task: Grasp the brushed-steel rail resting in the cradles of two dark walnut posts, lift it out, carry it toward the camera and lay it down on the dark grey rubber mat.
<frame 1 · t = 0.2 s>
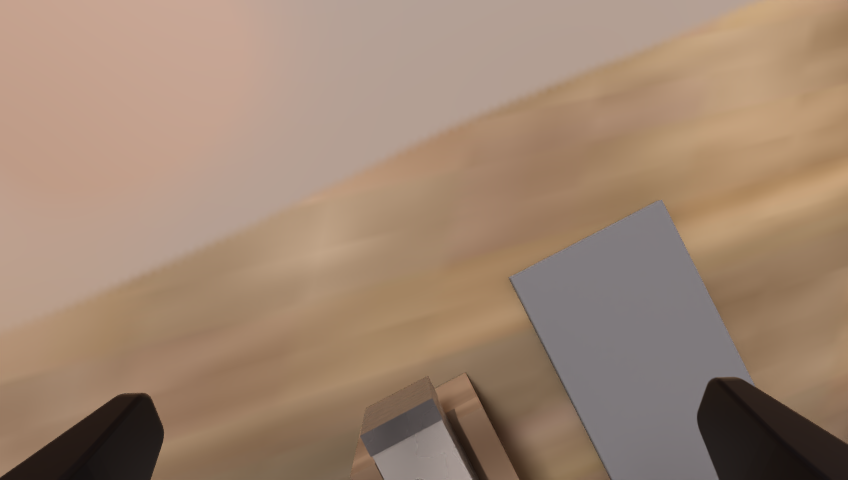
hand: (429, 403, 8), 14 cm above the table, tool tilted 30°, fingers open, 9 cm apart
mat: (678, 427, 23), on the table
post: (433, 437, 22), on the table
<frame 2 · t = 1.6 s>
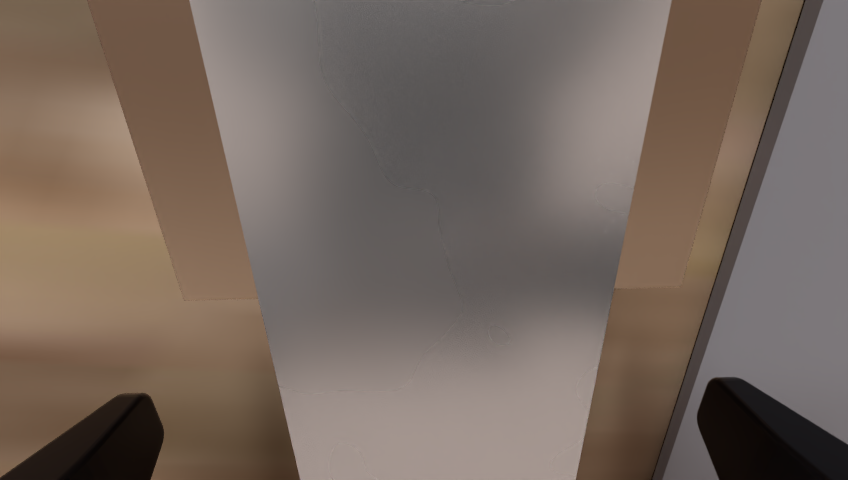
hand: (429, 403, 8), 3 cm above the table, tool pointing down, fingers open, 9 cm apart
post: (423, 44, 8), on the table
rail: (433, 404, 8), point 3 cm above the table, touching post, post
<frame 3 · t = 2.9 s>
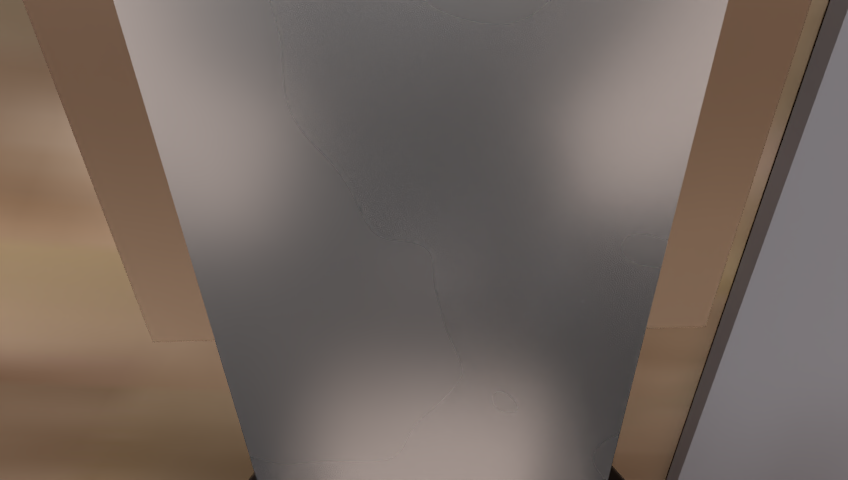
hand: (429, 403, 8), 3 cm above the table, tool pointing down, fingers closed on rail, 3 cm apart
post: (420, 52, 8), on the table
rail: (430, 439, 7), point 3 cm above the table, touching gripper, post, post
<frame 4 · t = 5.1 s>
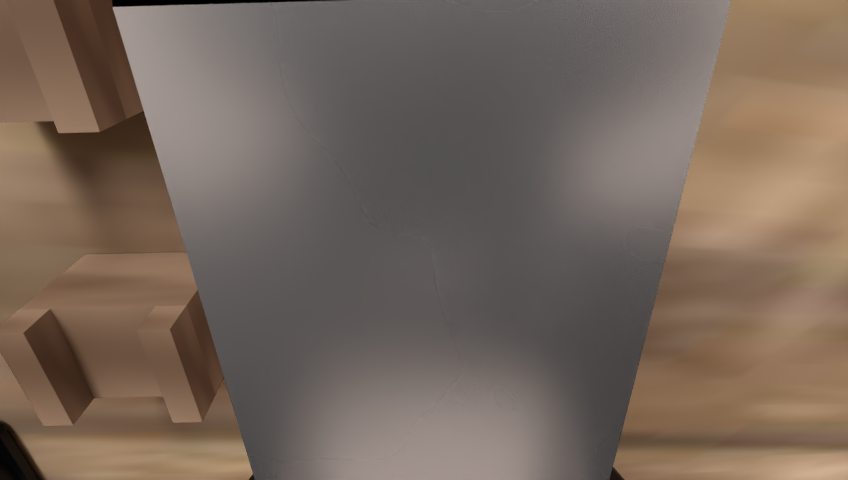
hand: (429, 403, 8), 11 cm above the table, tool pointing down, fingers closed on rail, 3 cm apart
rail: (430, 438, 7), point 11 cm above the table, touching gripper
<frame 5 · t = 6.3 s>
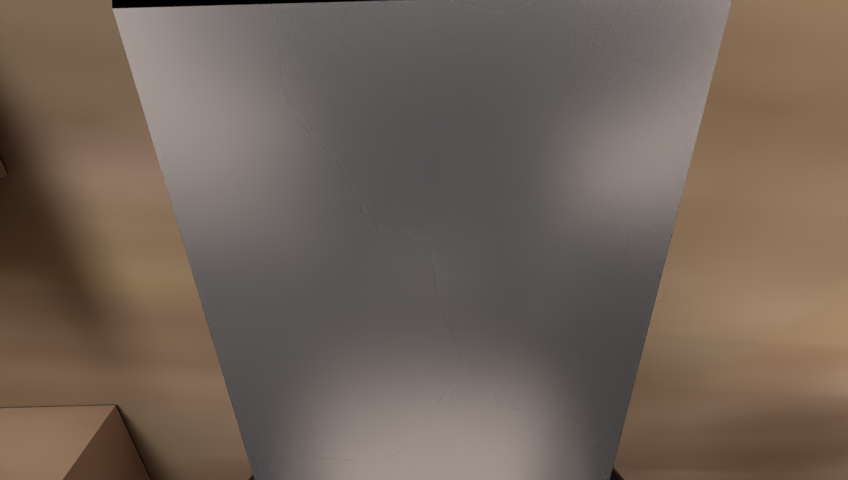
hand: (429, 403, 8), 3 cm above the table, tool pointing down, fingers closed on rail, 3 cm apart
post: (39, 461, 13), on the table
rail: (430, 437, 7), point 4 cm above the table, touching gripper
when the fingers open (1 cm above the table, at t = 7.3 s): rail drops 2 cm, resting on mat.
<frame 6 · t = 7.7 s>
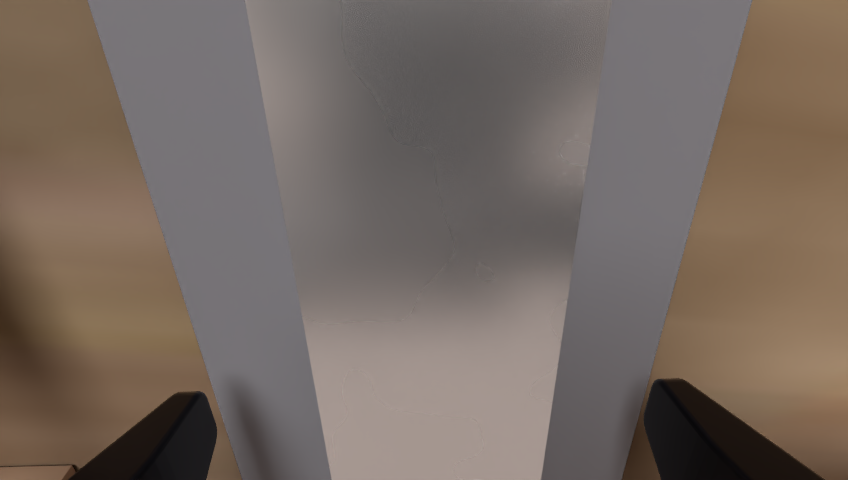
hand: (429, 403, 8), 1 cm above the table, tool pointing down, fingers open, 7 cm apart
mat: (430, 349, 9), on the table
rail: (431, 364, 8), resting on mat
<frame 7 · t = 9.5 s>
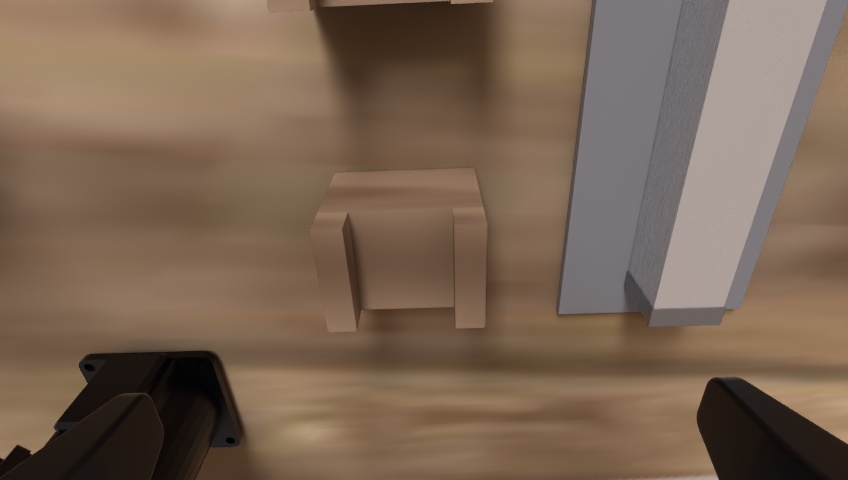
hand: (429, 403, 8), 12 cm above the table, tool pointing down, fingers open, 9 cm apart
mat: (698, 78, 17), on the table
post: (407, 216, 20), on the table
rail: (705, 79, 16), resting on mat
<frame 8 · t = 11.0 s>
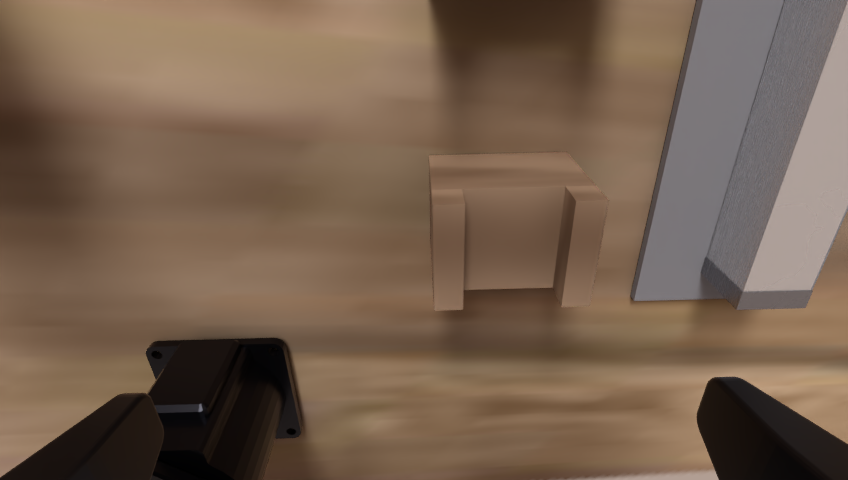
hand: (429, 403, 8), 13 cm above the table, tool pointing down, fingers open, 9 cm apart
mat: (791, 66, 17), on the table
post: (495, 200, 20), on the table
rail: (801, 66, 17), resting on mat
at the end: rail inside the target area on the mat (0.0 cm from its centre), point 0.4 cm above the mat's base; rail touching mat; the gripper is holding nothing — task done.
